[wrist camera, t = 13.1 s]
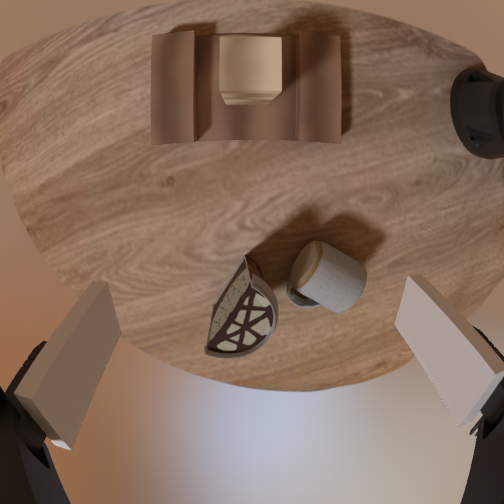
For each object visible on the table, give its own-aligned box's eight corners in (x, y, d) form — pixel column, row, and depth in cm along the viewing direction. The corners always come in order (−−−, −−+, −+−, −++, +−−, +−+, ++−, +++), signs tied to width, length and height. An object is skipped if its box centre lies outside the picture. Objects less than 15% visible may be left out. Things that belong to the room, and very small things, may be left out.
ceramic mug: (310, 228, 39) (325, 252, 32) (355, 254, 41) (376, 280, 34) (271, 289, 43) (276, 321, 36) (316, 309, 45) (327, 341, 38)
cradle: (332, 42, 29) (340, 35, 26) (332, 142, 34) (340, 143, 32) (158, 41, 28) (152, 35, 25) (158, 143, 34) (151, 145, 31)
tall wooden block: (267, 66, 30) (281, 37, 19) (267, 104, 32) (281, 91, 21) (225, 66, 30) (219, 36, 19) (225, 104, 32) (219, 91, 21)
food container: (244, 327, 45) (245, 373, 36) (209, 311, 44) (203, 356, 34) (288, 266, 41) (301, 306, 32) (250, 246, 40) (254, 282, 30)
